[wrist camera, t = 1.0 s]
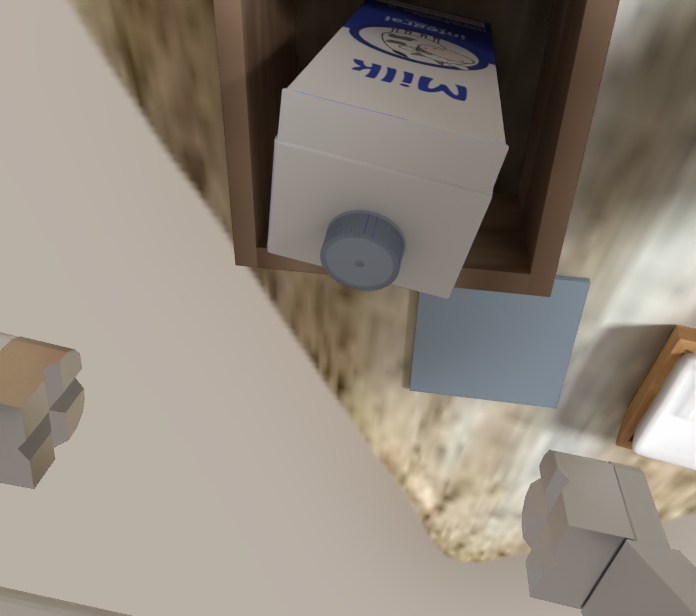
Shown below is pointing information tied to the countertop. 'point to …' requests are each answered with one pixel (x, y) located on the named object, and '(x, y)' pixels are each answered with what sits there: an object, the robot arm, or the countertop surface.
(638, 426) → the soap dish
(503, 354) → the mat
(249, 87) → the crate
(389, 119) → the milk carton
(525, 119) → the countertop surface
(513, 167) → the countertop surface
